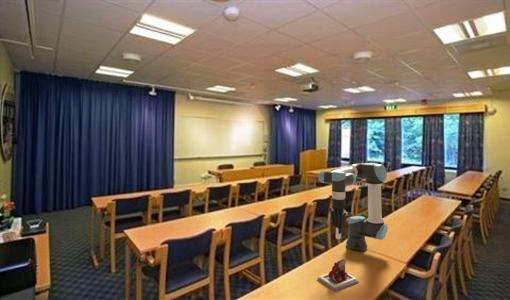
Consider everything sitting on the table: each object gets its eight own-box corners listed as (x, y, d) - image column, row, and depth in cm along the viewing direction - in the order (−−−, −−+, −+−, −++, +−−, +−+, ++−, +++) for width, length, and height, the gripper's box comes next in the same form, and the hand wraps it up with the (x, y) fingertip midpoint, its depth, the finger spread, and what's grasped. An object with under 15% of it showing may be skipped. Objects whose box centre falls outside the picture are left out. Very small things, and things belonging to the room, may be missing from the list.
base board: (339, 272, 166) (339, 268, 166) (358, 282, 154) (358, 278, 154) (317, 279, 158) (317, 275, 158) (335, 291, 145) (335, 287, 145)
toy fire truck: (326, 279, 155) (326, 262, 155) (339, 273, 162) (339, 256, 162) (336, 285, 150) (336, 266, 149) (349, 278, 157) (349, 260, 156)
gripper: (325, 197, 160) (325, 236, 161) (342, 201, 149) (342, 243, 150) (334, 195, 164) (334, 233, 165) (352, 199, 152) (351, 240, 153)
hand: (338, 238), depth 157 cm, fingers closed
